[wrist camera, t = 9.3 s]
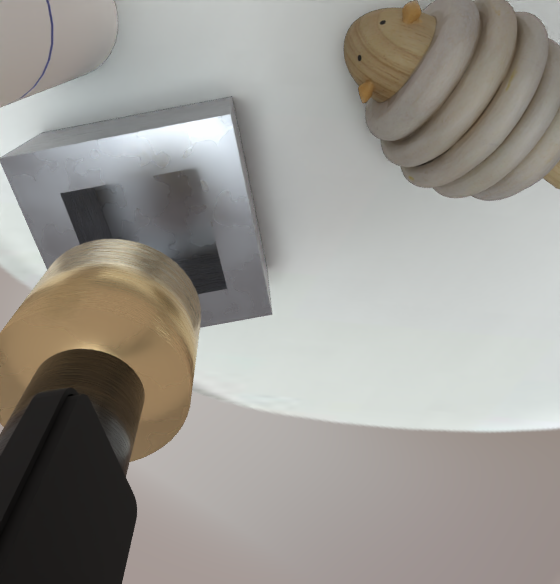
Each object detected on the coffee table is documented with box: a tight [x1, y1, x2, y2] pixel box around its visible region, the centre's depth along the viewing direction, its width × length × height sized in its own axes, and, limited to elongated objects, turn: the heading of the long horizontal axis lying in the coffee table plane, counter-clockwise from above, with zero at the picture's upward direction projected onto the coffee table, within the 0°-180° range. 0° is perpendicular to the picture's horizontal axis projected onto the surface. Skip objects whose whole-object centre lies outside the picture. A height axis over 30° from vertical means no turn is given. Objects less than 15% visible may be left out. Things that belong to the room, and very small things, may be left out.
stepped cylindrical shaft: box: [0, 239, 201, 477], centre depth 19 cm, size 7×7×12 cm
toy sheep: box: [344, 0, 560, 201], centre depth 30 cm, size 11×17×11 cm, turn 64°
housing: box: [0, 96, 272, 328], centre depth 34 cm, size 13×13×7 cm
